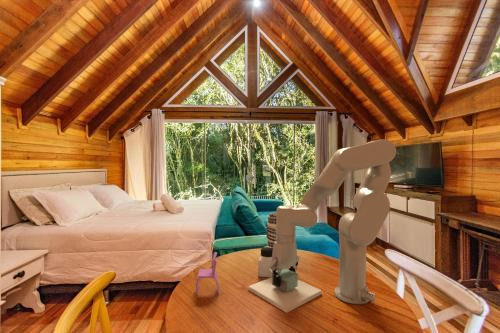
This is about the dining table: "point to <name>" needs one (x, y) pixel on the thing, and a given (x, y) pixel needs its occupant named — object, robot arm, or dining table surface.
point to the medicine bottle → (265, 262)
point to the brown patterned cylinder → (271, 229)
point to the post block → (284, 294)
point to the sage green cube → (287, 280)
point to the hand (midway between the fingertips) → (284, 282)
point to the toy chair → (208, 273)
